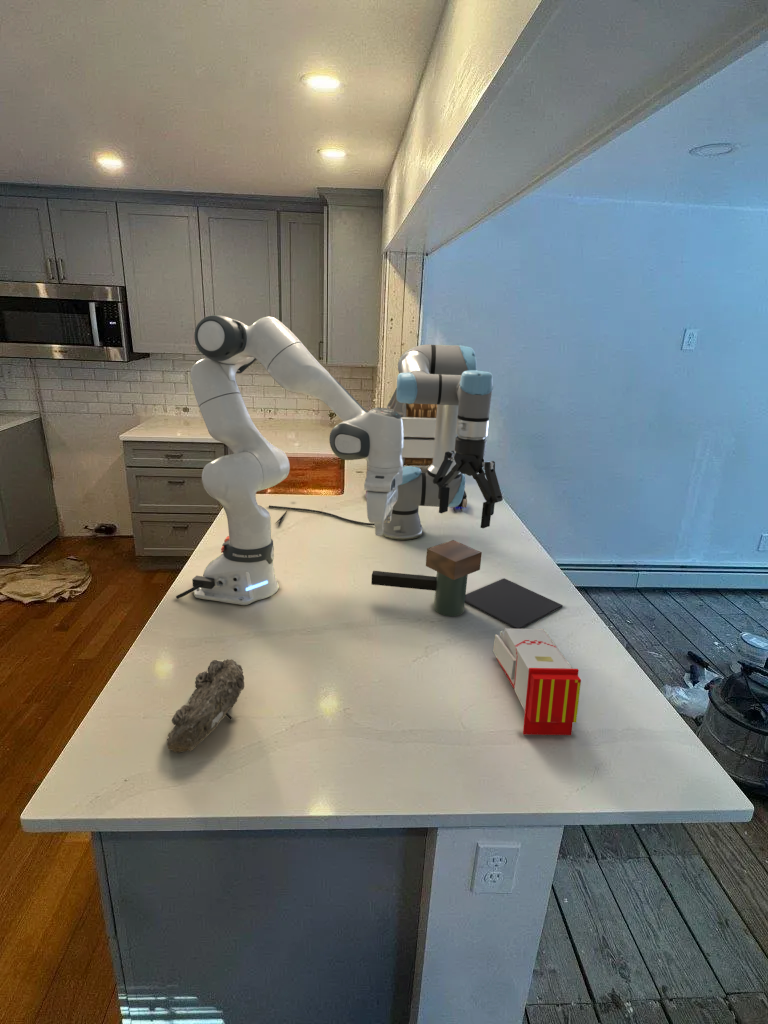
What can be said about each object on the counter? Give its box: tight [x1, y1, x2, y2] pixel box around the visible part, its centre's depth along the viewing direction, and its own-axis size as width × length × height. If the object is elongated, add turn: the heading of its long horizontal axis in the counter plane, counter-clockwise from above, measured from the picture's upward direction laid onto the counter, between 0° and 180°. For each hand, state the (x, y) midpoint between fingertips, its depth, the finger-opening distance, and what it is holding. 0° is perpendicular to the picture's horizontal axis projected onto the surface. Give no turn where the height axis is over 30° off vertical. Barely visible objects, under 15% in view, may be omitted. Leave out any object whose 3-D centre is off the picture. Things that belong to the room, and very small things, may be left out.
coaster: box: [465, 578, 563, 629], centre depth 156 cm, size 20×20×1 cm
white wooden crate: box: [386, 387, 437, 467], centre depth 268 cm, size 34×33×41 cm
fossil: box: [166, 658, 245, 754], centre depth 106 cm, size 22×10×15 cm
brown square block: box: [425, 539, 483, 580], centre depth 146 cm, size 10×10×5 cm
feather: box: [274, 510, 288, 528], centre depth 213 cm, size 2×28×2 cm
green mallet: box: [371, 570, 469, 617], centre depth 150 cm, size 25×8×12 cm, turn 83°
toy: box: [492, 627, 582, 736], centre depth 118 cm, size 12×13×30 cm
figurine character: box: [452, 490, 468, 512], centre depth 228 cm, size 7×8×15 cm
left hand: (383, 528), depth 143 cm, fingers open, 8 cm apart
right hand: (463, 519), depth 144 cm, fingers open, 13 cm apart
